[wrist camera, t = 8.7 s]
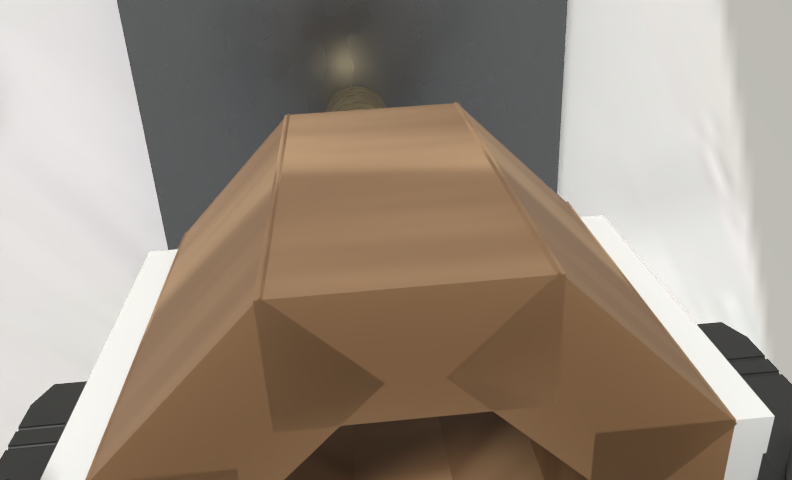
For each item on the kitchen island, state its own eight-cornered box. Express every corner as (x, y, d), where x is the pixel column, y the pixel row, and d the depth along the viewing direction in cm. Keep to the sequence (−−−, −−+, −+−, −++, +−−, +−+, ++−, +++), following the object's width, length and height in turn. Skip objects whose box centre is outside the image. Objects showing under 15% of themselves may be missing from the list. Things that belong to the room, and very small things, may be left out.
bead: (555, 415, 18) (680, 700, 12) (225, 447, 17) (170, 763, 11) (575, 93, 14) (772, 254, 8) (161, 122, 14) (27, 317, 8)
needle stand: (542, 266, 33) (687, 515, 20) (187, 296, 32) (93, 579, 19) (561, -127, 26) (804, -144, 13) (107, -103, 25) (-131, -96, 12)
